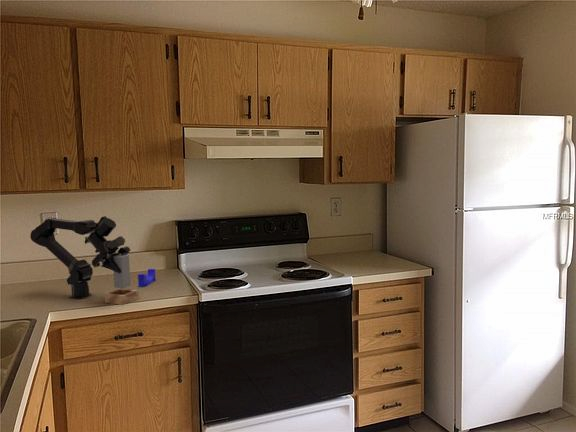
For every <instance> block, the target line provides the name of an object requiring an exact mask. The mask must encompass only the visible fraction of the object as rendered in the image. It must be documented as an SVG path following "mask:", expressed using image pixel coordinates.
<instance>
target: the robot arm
mask: <svg viewBox="0 0 576 432" xmlns="http://www.w3.org/2000/svg"><path fill="white" fill-rule="evenodd" d="M116 227H117V223H116V222H115V221H114V220H113V219H110V217H107V216H106V215H103V216H102V217H100V219H99V221H98V222H95V220H93V219H86V220H85V219H84V220H71V219H62V218H57V217H51V218H46V219H45V220H44V221H43V222H42V223H41V224H39V225H38V226H36V227H35V228H34V229H33V230H31V232H30V235H29V236H30V240H31V241H32V242H33V243H35V244H36V245H38V246H41V247H44V248H46V249H47V250H48V251H50V252H49V253H51V254H52V255H53V256H54V257H56V259H58V260H59V261H60V262H61V263H62V264H63V265H65V266H66V268H67V269H68V274H69V276H68V277H67V279H66V282H67V285H70V286H71V295H69V297H68V298H69V299H70V298H71V299H83V298H86V297H89V296H91V295H92V293H91V292H90V286H89V281H91V280H92V276H93V273H94V271H93V268H99V267H100V265H101V267H102V268H105V269H108V270H111V271H113V272H114V271H115V272H117V273H121V270H120V268H119V267H118V266H117V264H116V263H115V262H114V256H117V255H129V253H130V252H131V248H130V247H129V246H124V245H125V244H126V239H125V238H124V237H123V236H122V235H119V236H118V237H116V238H114V239H113V240H109V239H108V240H107V239H106V238H107V237H109V236H110V234H112V232H113V231H114V229H116ZM57 229H60V230H67V231H72V232H74V233H75V234H78V235H80V236H85V235H87V236H85V237H84V238H85V240H84V244H85V245H87V244H91V245H92V247H94V249H95V251H94V252H95V253H96V255H95V257H94V258H93V259H92V260H91V264H90V263H89V262H88V261H87V260H86V259H80V260H78V259H77V258H76V257H75V256H74V255H73V254H72V253H71V252H69V250H67V248H65V247H64V246H63V245H62V244H61V243H59V242H58V240H56V237H55V236H56V235H55V234H54V233H56V231H57ZM122 246H123V247H122ZM119 247H120V248H119ZM100 262H101V263H100ZM91 265H92V266H91Z"/></svg>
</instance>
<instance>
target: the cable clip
mask: <svg viewBox="0 0 576 432" xmlns="http://www.w3.org/2000/svg"><path fill="white" fill-rule="evenodd" d="M137 280H138V281H137V282H138V288H146V287H148V286H149V285H151V284H152V283H155V282H156V268H148V269H147V274H146V273H138V274H137Z"/></svg>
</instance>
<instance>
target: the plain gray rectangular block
mask: <svg viewBox="0 0 576 432" xmlns="http://www.w3.org/2000/svg"><path fill="white" fill-rule="evenodd" d="M114 262H115V263H116V264H117V266H118V267H119V268H120V270H121V273H117V272H115V271H113V282H114V283H113V285H114V288H117V289H127V287H130V286H131V272H130V271H131V268H130V255H129V254H127V255H117V256H114Z"/></svg>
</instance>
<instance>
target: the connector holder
mask: <svg viewBox="0 0 576 432" xmlns="http://www.w3.org/2000/svg"><path fill="white" fill-rule="evenodd" d="M138 299H140V294H139V290H138V289H132V288H131V289H129V288H117V289H116V290H112V291H110V292H108V293H105V294H104V303H105V304H115V305H116V304H117V305H127V304H130V303H131V302H134V301H136V300H138Z"/></svg>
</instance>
